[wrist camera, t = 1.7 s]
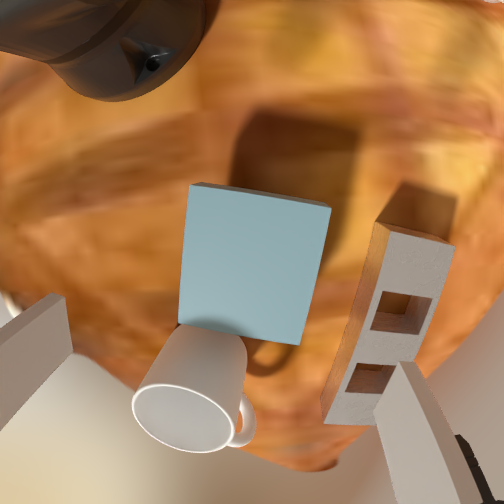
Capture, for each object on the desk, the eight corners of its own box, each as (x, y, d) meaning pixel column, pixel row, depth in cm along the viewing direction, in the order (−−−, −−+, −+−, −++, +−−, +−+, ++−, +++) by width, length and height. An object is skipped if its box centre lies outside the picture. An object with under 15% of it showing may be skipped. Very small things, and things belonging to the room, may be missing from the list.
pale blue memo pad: (211, 179, 25) (189, 185, 19) (318, 197, 24) (331, 208, 18) (199, 289, 28) (177, 322, 21) (295, 306, 27) (299, 345, 21)
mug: (287, 380, 30) (286, 456, 20) (229, 410, 32) (214, 479, 22) (210, 300, 28) (177, 366, 18) (155, 340, 30) (113, 404, 20)
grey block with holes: (375, 221, 24) (390, 231, 21) (434, 235, 24) (455, 246, 20) (320, 398, 30) (323, 423, 26) (371, 401, 30) (378, 425, 26)
